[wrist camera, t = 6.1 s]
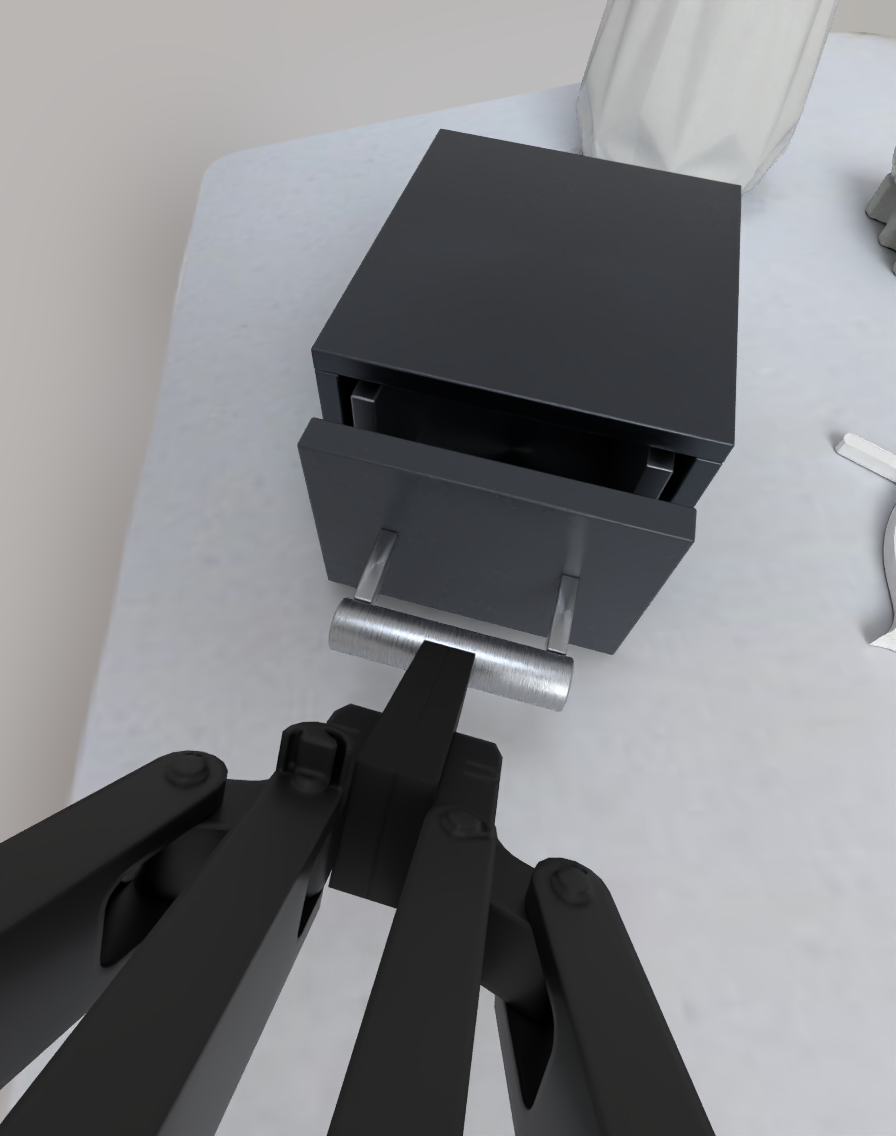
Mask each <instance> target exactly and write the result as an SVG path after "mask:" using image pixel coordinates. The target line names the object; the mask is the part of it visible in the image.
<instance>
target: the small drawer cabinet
mask: <svg viewBox="0 0 896 1136" xmlns="http://www.w3.org/2000/svg"><path fill="white" fill-rule="evenodd" d="M740 222H741V185H736V184H731V183H726V182H720V181H715V180H710V179H704V178H699V177H694V176H689V175H683V174H678V173H673V172H667V171H662V170H657V169H652V168H646V167H641V166H636V165H630V164H625V163H620V162H615V161H609V160H604V159H599V158H593V157H588V156H583V155H578V154H572V153H567V152H562V151H556V150H551V149H546V148H541V147H535V146H530V145H525V144H519V143H514V142H509V141H503V140H498V139H493V138H488V137H482V136H477V135H472V134H466V133H461V132H456V131H451V130H445V129H440V130H439V132H438V133H437V135H436V137H435V139H434V140H433V142H432V144H431V145H430V147H429V149H428V150H427V152H426V154H425V156H424V157H423V159H422V161H421V162H420V164H419V166H418V168H417V169H416V171H415V173H414V174H413V176H412V178H411V179H410V181H409V183H408V185H407V186H406V188H405V190H404V191H403V193H402V195H401V197H400V198H399V200H398V202H397V203H396V205H395V207H394V208H393V210H392V212H391V214H390V215H389V217H388V219H387V220H386V222H385V224H384V226H383V227H382V229H381V231H380V232H379V234H378V236H377V237H376V239H375V241H374V243H373V244H372V246H371V248H370V249H369V251H368V253H367V255H366V256H365V258H364V260H363V261H362V263H361V265H360V266H359V268H358V270H357V272H356V273H355V275H354V277H353V278H352V280H351V282H350V284H349V285H348V287H347V289H346V290H345V292H344V294H343V295H342V297H341V299H340V301H339V302H338V304H337V306H336V307H335V309H334V311H333V313H332V314H331V316H330V318H329V319H328V321H327V323H326V324H325V326H324V328H323V330H322V331H321V333H320V335H319V336H318V338H317V340H316V342H315V343H314V345H313V347H312V349H311V351H312V357H313V363H314V368H315V374H316V380H317V386H318V392H319V398H320V403H321V409H322V415H323V420H327V421H331V422H335V423H339V424H343V425H348V426H352V427H354V421H353V412H352V403H351V395H352V393H353V391H354V389H355V387H356V385H357V383H358V381H359V379H360V380H364V381H368V382H373V383H377V384H381V385H386V386H390V387H394V388H399V389H403V390H407V391H412V392H416V393H420V394H425V395H429V396H433V397H438V398H442V399H446V400H451V401H455V402H459V403H464V404H468V405H472V406H477V407H481V408H485V409H490V410H494V411H498V412H503V413H507V414H511V415H516V416H520V417H524V418H529V419H533V420H537V421H542V422H546V423H550V424H555V425H559V426H563V427H568V428H572V429H576V430H581V431H585V432H589V433H594V434H598V435H602V436H607V437H611V438H615V439H620V440H624V441H628V442H633V443H637V444H641V445H646V446H650V447H654V448H659V449H663V450H667V451H672V452H675V457H674V468H673V473H672V475H671V476H670V478H669V480H668V482H667V483H666V485H665V487H664V489H663V491H662V492H661V494H660V496H659V498H658V500H662V501H666V502H670V503H675V504H679V505H683V506H687V507H691V508H694V506H695V505H696V503H697V502H698V500H699V499H700V497H701V496H702V494H703V493H704V491H705V490H706V488H707V487H708V485H709V484H710V482H711V481H712V479H713V477H714V476H715V474H716V473H717V471H718V470H719V468H720V467H721V465H722V463H723V462H724V461H725V459H726V458H727V456H728V454H729V453H730V451H731V450H732V448H733V447H734V441H735V405H736V368H737V332H738V295H739V259H740Z"/></svg>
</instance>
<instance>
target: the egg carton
mask: <svg viewBox="0 0 896 1136" xmlns="http://www.w3.org/2000/svg"><path fill="white" fill-rule="evenodd" d="M892 163H893V167H892V170H891V173H889V174H888V175H887V176H886V177H885V179H884V180H883V182H882V183H881V185H880V187H879V189H878V190H877V192H876V193H875V195H874V196H873V198H872V199H871V201H870V203H869V205H868V206H867V208H866V212H867V214H868V216H869V217H871V218H875V219H877V220H879V221H881V222H884V223H886V224H887V225H886V226H885V228H884V229H883V231H882V232H881V233H880V235H879V241H880V243H881V245H883V246H886V247H890V248H892V249H894V250H895V251H896V147H895V151H894V155H893V162H892ZM893 272H894V273H895V274H896V262H895V264H894V266H893Z"/></svg>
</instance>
